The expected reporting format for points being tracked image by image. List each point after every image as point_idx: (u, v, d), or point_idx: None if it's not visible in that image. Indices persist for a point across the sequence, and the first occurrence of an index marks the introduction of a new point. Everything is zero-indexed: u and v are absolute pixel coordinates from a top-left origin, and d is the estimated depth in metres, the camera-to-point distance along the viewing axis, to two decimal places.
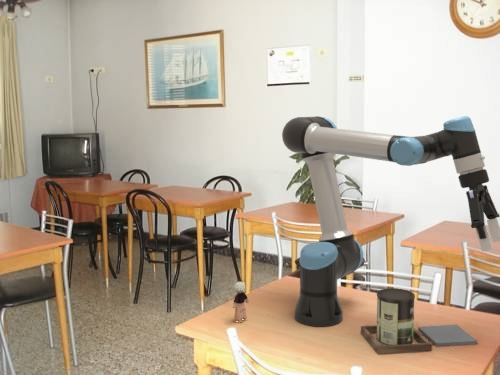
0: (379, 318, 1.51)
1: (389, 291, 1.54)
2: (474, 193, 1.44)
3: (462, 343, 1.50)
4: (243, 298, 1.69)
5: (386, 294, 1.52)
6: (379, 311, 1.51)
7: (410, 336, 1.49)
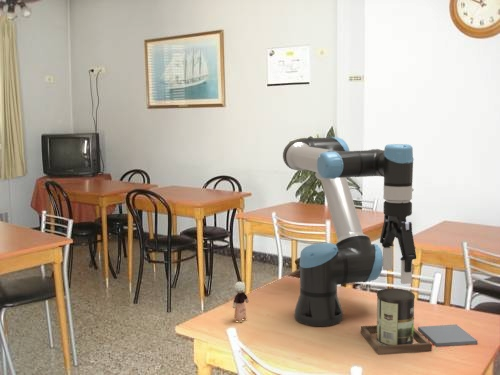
0: (379, 318, 1.51)
1: (389, 291, 1.54)
2: (410, 226, 1.42)
3: (462, 343, 1.50)
4: (243, 298, 1.69)
5: (386, 294, 1.52)
6: (379, 311, 1.51)
7: (410, 336, 1.49)
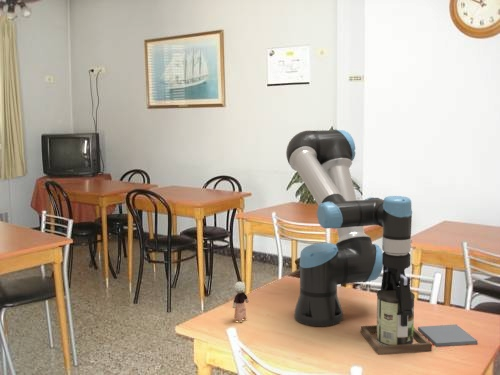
0: (379, 318, 1.51)
1: (389, 291, 1.54)
2: (408, 281, 1.44)
3: (462, 343, 1.50)
4: (243, 298, 1.69)
5: (386, 294, 1.52)
6: (379, 311, 1.51)
7: (410, 336, 1.49)
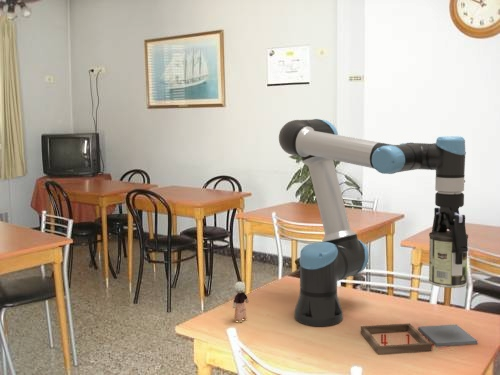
0: (432, 258, 1.51)
1: (441, 232, 1.55)
2: (463, 219, 1.44)
3: (462, 343, 1.50)
4: (243, 298, 1.69)
5: (438, 234, 1.52)
6: (432, 251, 1.51)
7: (464, 275, 1.50)
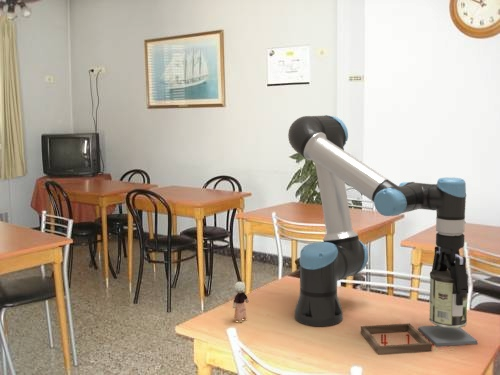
0: (433, 298, 1.53)
1: (441, 272, 1.56)
2: (464, 261, 1.46)
3: (462, 343, 1.50)
4: (243, 298, 1.69)
5: (439, 274, 1.54)
6: (433, 291, 1.53)
7: (465, 315, 1.51)
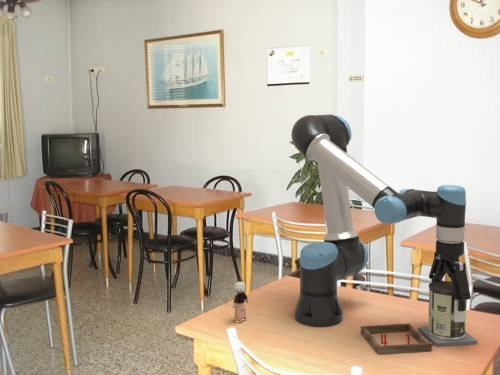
0: (432, 310, 1.54)
1: (440, 283, 1.57)
2: (464, 266, 1.47)
3: (462, 343, 1.50)
4: (243, 298, 1.69)
5: (438, 286, 1.54)
6: (432, 303, 1.54)
7: (463, 327, 1.52)
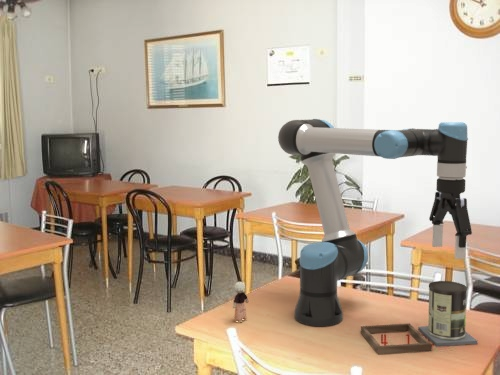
0: (432, 310, 1.54)
1: (440, 283, 1.57)
2: (465, 202, 1.44)
3: (462, 343, 1.50)
4: (243, 298, 1.69)
5: (438, 286, 1.54)
6: (432, 303, 1.54)
7: (463, 327, 1.52)
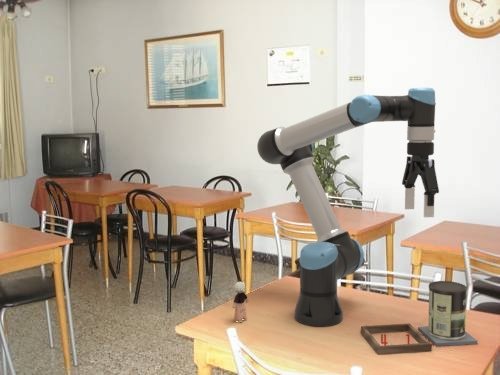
0: (431, 310, 1.54)
1: (440, 283, 1.57)
2: (433, 163, 1.52)
3: (462, 343, 1.50)
4: (243, 298, 1.69)
5: (438, 286, 1.54)
6: (432, 303, 1.54)
7: (463, 327, 1.52)
